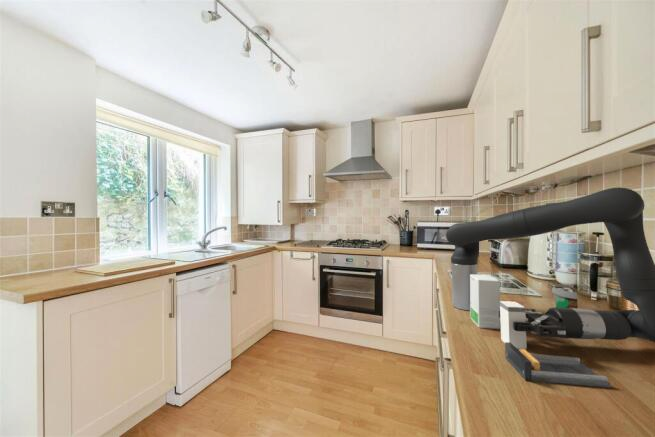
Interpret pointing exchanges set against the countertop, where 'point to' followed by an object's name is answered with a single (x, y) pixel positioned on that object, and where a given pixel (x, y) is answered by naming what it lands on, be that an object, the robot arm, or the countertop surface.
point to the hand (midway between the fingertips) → (505, 320)
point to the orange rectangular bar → (534, 362)
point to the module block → (509, 315)
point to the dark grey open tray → (554, 369)
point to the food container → (565, 296)
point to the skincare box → (485, 301)
